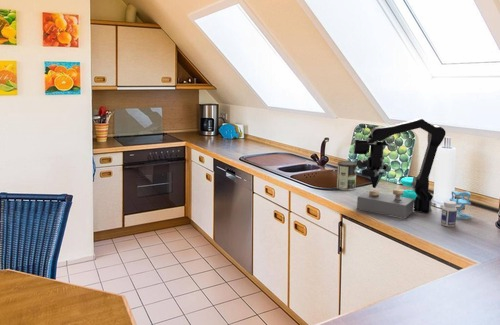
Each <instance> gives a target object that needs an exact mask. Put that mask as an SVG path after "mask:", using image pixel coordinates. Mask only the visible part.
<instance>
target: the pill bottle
mask: <svg viewBox="0 0 500 325" xmlns="http://www.w3.org/2000/svg"><path fill="white" fill-rule="evenodd" d="M457 211H458V209H457V205H456V202H454V201H450V200H444V201H443V206H442V208H441V217H440V224H441V226H444V227H448V228H449V227H450V228H451V227H455V226H456V223H457V219H456V217H458V216H457V215H458V214H457Z"/></svg>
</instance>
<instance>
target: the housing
mask: <svg viewBox="0 0 500 325" xmlns="http://www.w3.org/2000/svg"><path fill="white" fill-rule="evenodd" d="M369 191H370V190H367V191H365V192H363V193H362V194H360V195H358V196H357V199H356V200H357V201H356V204H357V205H356V209H357V210H360V211H364V212H365V211H366V212H369V213H370V212H371V213H375V214H381V215H385V216H389V215H390V216H389V217H395V218H398V219H406V218H407V217H409V216H410V215H411V214H412V213H413V212H414V199H410V198H405V197H400V201H395V196H396V195H394V194H392V195H391V194H387V193H380V192H379V196H378V197H373V196H370V195H369Z"/></svg>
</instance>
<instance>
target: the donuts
mask: <svg viewBox="0 0 500 325" xmlns="http://www.w3.org/2000/svg"><path fill="white" fill-rule="evenodd" d="M413 177H414V176H413ZM413 177H411V176H406V177H403V178H401V179H400V184H402V186H405V187H407V188H412V185H411V183H412V182H413ZM402 190H403V195H400V197H405V198H410V199H414V200H415V199H416V197H417V195H416V193H415V192H414V191H413V189H405V190H404V189H402Z"/></svg>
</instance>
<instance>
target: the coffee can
mask: <svg viewBox="0 0 500 325" xmlns="http://www.w3.org/2000/svg"><path fill="white" fill-rule="evenodd" d="M356 165H357V162H355V161H351V160H350V161H348V160H340V161H338V162H337V174H336V175H337V176H336V178H337V179H336V180H337V181H336V189H338V188H339V189H338V190H341V191H342V190H343V191H353V190H356V189H357V188H356V184H357V168H358V166H356Z"/></svg>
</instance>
